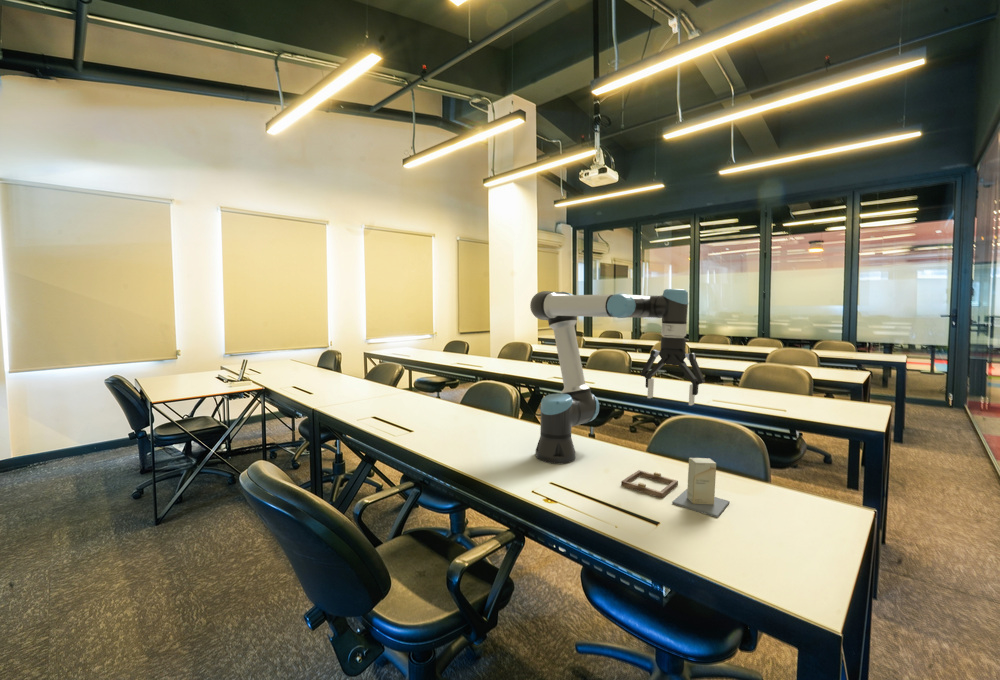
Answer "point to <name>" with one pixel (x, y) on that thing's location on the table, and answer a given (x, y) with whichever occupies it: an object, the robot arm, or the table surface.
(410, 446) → the table surface
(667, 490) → the collar
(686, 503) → the mat
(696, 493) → the skincare box
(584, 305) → the robot arm
